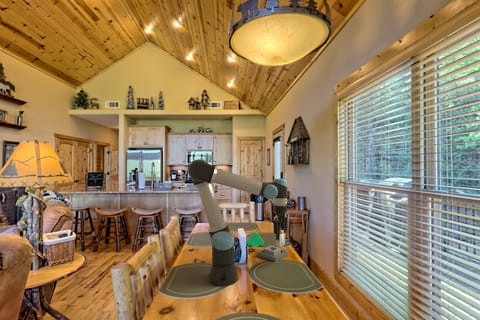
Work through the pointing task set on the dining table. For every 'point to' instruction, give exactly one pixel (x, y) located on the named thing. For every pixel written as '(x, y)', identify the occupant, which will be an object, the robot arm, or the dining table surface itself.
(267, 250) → the housing
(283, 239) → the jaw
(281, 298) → the dining table surface
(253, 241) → the green triangular block
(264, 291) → the dining table surface
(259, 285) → the dining table surface
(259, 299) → the dining table surface
